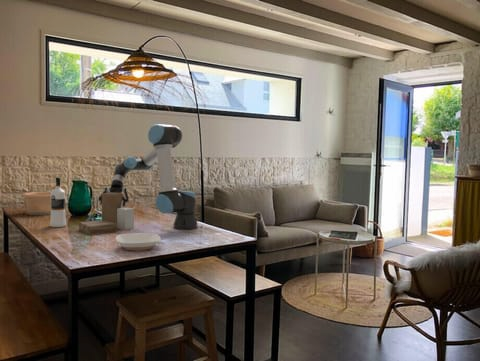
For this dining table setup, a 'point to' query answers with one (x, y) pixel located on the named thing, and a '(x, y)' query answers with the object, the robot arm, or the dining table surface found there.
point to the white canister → (125, 218)
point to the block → (111, 206)
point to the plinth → (97, 227)
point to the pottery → (38, 203)
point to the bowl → (138, 240)
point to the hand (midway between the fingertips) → (111, 209)
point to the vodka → (58, 206)
